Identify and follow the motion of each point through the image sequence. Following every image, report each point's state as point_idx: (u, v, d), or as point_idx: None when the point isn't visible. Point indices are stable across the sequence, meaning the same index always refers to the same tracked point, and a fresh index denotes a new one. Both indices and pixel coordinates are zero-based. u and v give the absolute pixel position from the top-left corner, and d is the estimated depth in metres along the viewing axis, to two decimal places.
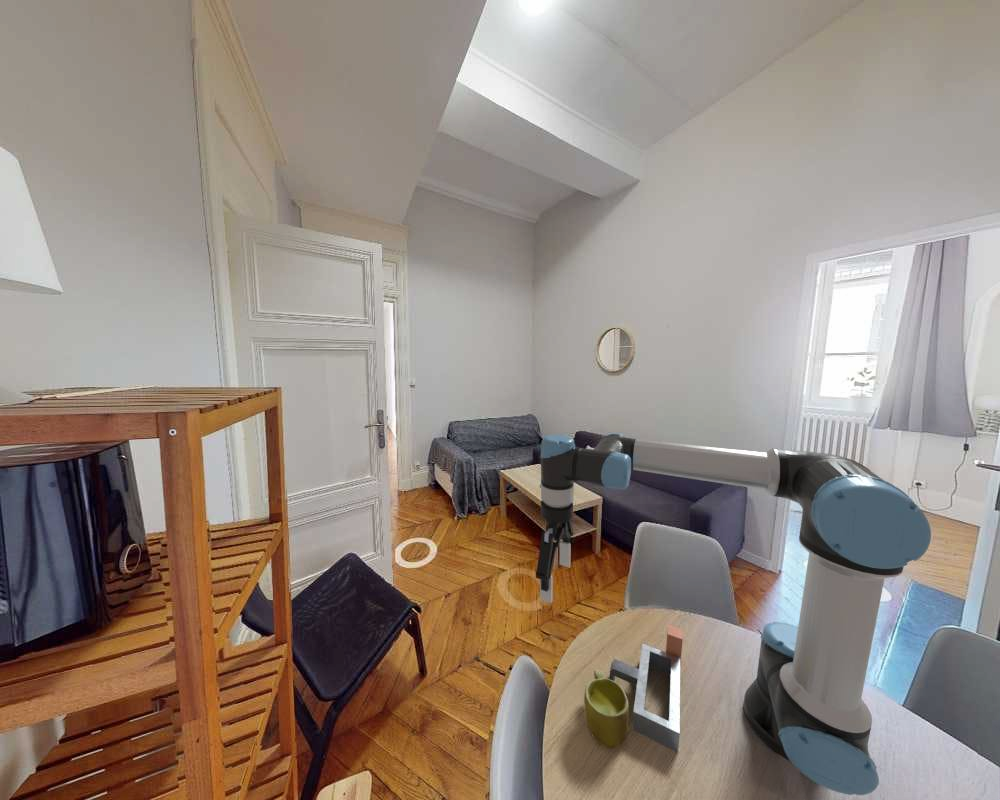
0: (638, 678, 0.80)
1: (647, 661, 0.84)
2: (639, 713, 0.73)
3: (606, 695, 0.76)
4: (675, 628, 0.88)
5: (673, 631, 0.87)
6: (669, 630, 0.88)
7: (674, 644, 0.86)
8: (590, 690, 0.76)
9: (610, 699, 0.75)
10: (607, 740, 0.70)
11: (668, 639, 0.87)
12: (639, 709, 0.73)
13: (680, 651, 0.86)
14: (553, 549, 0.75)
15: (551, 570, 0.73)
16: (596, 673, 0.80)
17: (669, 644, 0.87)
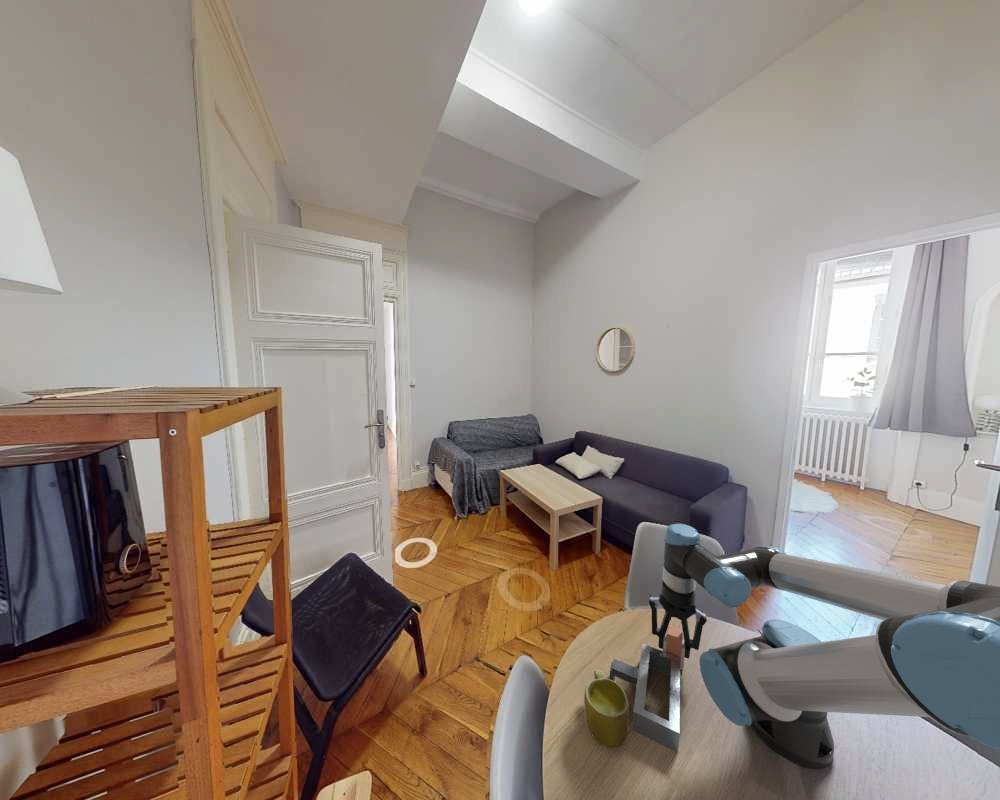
0: (638, 678, 0.80)
1: (647, 661, 0.84)
2: (639, 713, 0.73)
3: (606, 695, 0.76)
4: (675, 628, 0.88)
5: (673, 630, 0.87)
6: (669, 630, 0.88)
7: (674, 644, 0.86)
8: (590, 690, 0.76)
9: (610, 699, 0.75)
10: (607, 740, 0.70)
11: (668, 639, 0.87)
12: (639, 709, 0.73)
13: (680, 651, 0.86)
14: (664, 619, 0.87)
15: (663, 634, 0.88)
16: (596, 673, 0.80)
17: (669, 643, 0.87)
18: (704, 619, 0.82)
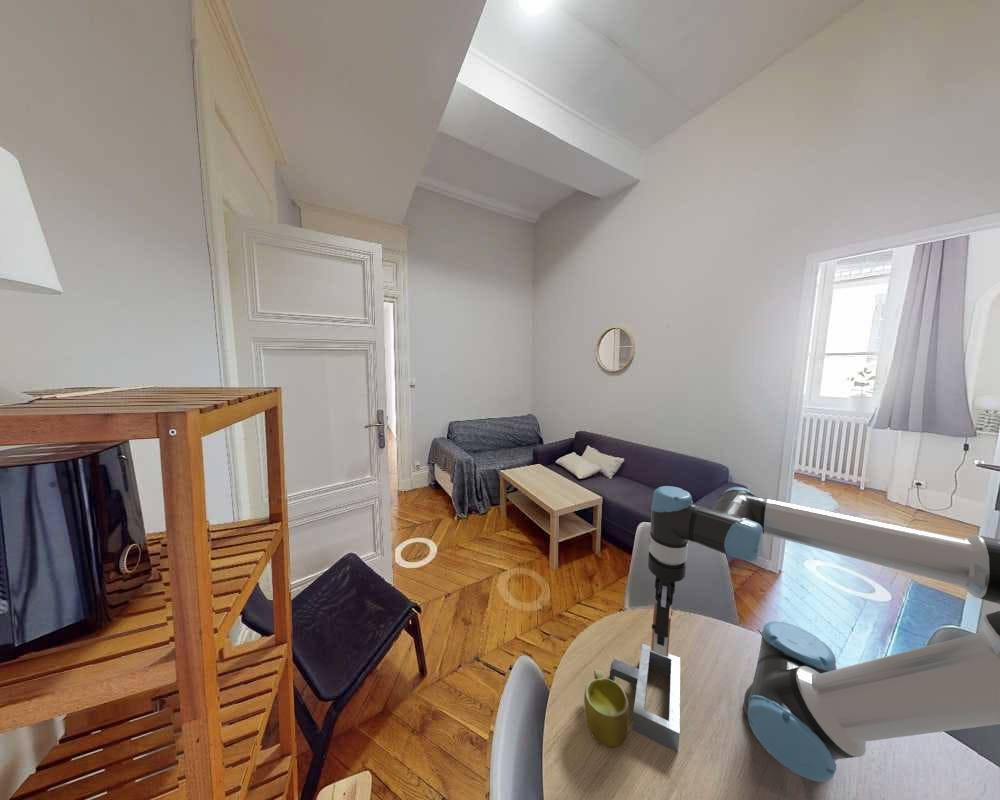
0: (638, 678, 0.80)
1: (647, 661, 0.84)
2: (639, 713, 0.73)
3: (606, 694, 0.76)
4: None
5: None
6: None
7: None
8: (590, 690, 0.76)
9: (610, 699, 0.75)
10: (607, 740, 0.70)
11: None
12: (639, 709, 0.73)
13: None
14: None
15: None
16: (596, 673, 0.80)
17: None
18: None
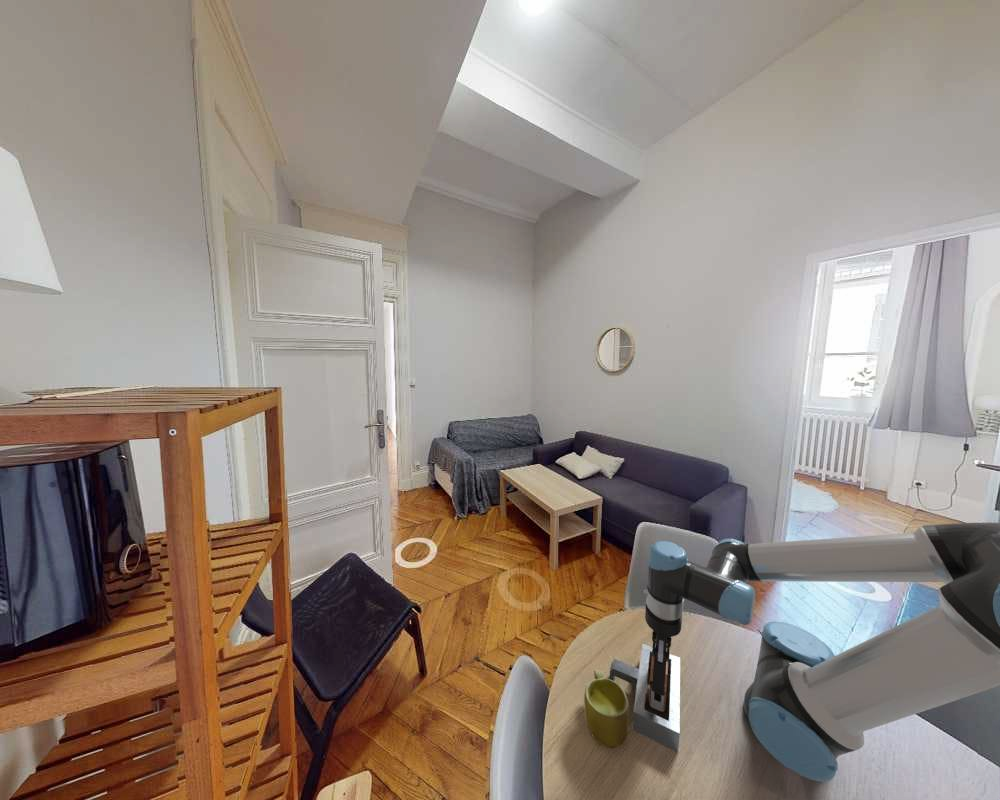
0: (638, 678, 0.80)
1: (647, 661, 0.84)
2: (639, 713, 0.73)
3: (606, 694, 0.76)
4: None
5: None
6: None
7: None
8: (590, 690, 0.76)
9: (610, 699, 0.75)
10: (607, 740, 0.70)
11: None
12: (639, 709, 0.73)
13: None
14: None
15: None
16: (596, 673, 0.80)
17: (666, 682, 0.77)
18: None
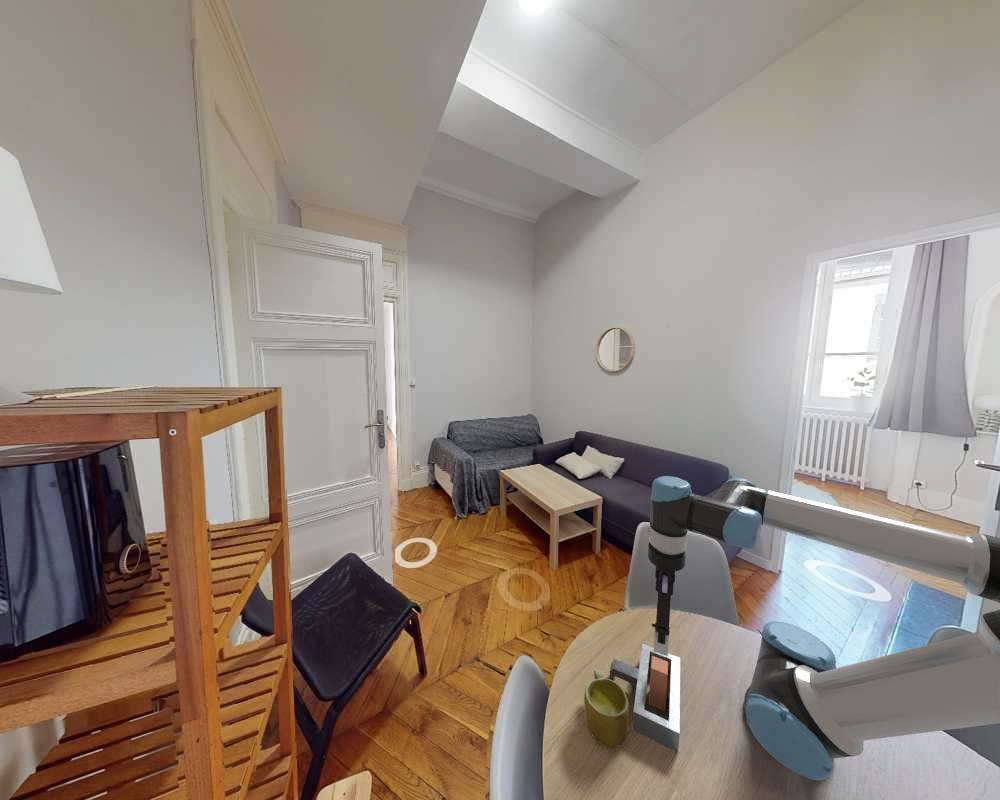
0: (638, 678, 0.80)
1: (647, 661, 0.84)
2: (639, 713, 0.73)
3: (606, 694, 0.76)
4: (654, 663, 0.79)
5: (659, 666, 0.78)
6: (660, 670, 0.77)
7: None
8: (590, 690, 0.76)
9: (610, 699, 0.75)
10: (607, 740, 0.70)
11: None
12: (639, 709, 0.73)
13: None
14: None
15: None
16: (596, 673, 0.80)
17: (666, 682, 0.77)
18: None
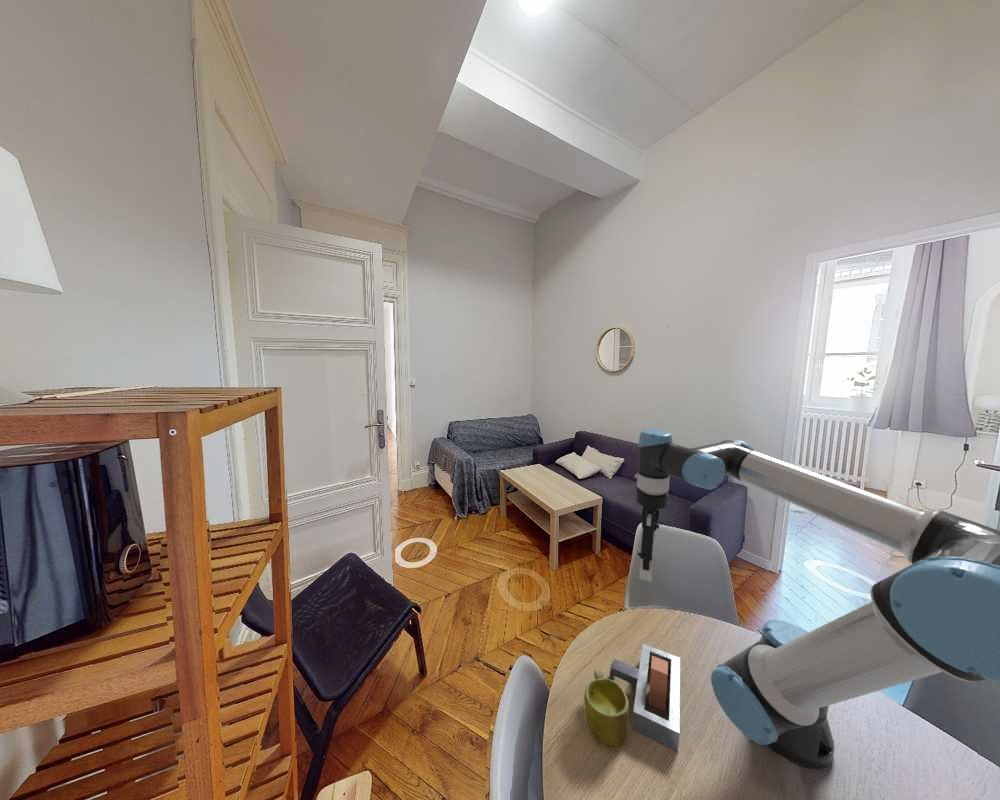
0: (638, 678, 0.80)
1: (647, 661, 0.84)
2: (639, 713, 0.73)
3: (606, 694, 0.76)
4: (654, 663, 0.79)
5: (659, 666, 0.78)
6: (660, 670, 0.77)
7: None
8: (590, 690, 0.76)
9: (610, 699, 0.75)
10: (607, 740, 0.70)
11: None
12: (639, 709, 0.73)
13: None
14: None
15: None
16: (596, 673, 0.80)
17: (666, 682, 0.77)
18: None
